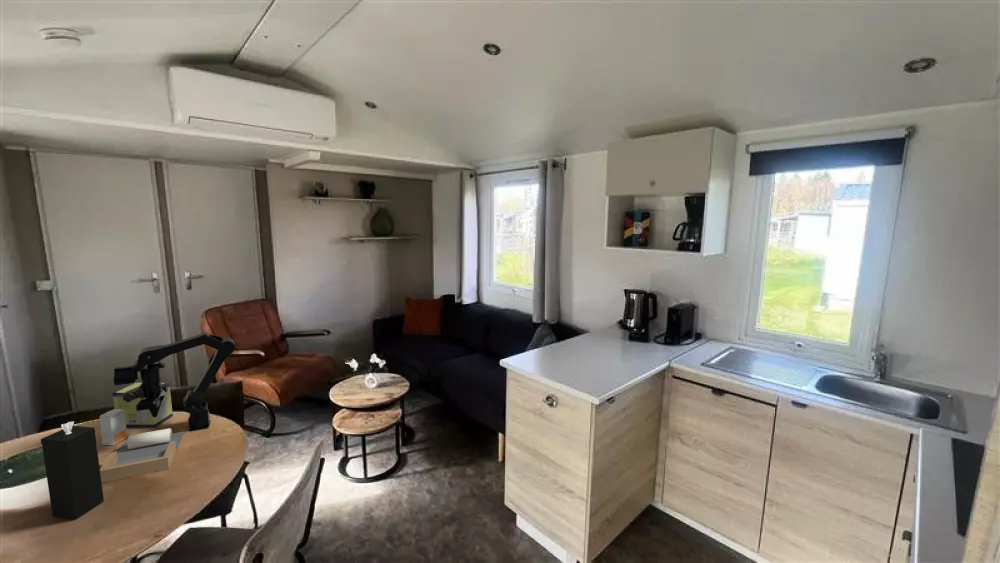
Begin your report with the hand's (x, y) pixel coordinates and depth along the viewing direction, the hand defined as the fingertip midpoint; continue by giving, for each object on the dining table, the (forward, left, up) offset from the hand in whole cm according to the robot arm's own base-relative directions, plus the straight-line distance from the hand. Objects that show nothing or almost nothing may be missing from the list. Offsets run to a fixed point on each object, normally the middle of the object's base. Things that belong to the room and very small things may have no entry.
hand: (155, 416), depth 161 cm
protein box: (+7, -16, -9) cm, 19 cm away
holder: (0, +15, -8) cm, 17 cm away
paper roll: (0, +8, -5) cm, 10 cm away
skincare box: (+13, -2, -8) cm, 16 cm away
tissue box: (+10, +41, -8) cm, 43 cm away
